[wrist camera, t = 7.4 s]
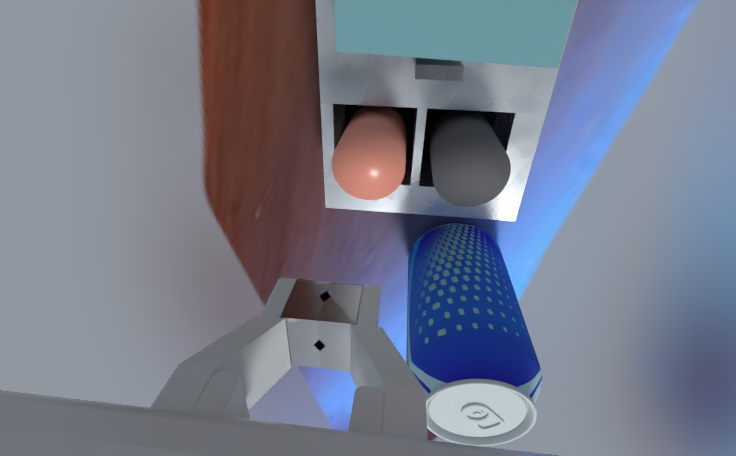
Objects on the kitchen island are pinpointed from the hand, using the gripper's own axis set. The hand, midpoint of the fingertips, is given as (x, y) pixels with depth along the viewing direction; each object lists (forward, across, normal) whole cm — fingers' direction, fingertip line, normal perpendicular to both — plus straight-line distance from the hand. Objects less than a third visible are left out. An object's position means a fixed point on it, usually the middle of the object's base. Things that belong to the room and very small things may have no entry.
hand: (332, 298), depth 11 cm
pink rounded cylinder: (+18, 0, 0) cm, 18 cm away
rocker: (+12, -3, -7) cm, 15 cm away
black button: (+18, -6, 0) cm, 19 cm away
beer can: (+21, -7, +12) cm, 26 cm away
